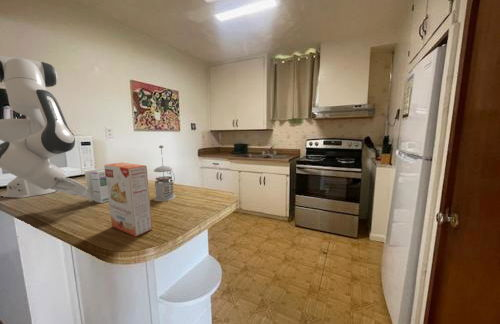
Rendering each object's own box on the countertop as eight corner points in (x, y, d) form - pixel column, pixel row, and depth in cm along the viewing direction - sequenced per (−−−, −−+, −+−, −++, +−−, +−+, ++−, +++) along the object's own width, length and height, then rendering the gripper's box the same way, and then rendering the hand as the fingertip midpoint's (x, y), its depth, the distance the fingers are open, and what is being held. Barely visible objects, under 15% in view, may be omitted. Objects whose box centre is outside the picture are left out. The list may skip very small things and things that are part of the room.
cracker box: (110, 227, 67) (103, 164, 64) (129, 220, 72) (123, 161, 69) (134, 238, 60) (127, 167, 57) (153, 229, 65) (147, 164, 62)
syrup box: (101, 203, 91) (97, 171, 89) (94, 201, 94) (90, 170, 92) (114, 199, 96) (111, 169, 94) (107, 198, 99) (104, 168, 97)
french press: (149, 200, 94) (144, 146, 91) (166, 193, 105) (162, 144, 102) (166, 202, 92) (162, 146, 88) (182, 194, 102) (179, 144, 99)
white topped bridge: (101, 203, 90) (98, 172, 88) (88, 200, 95) (84, 171, 93) (134, 194, 104) (131, 167, 102) (121, 192, 109) (118, 166, 107)
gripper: (70, 172, 74) (102, 191, 84) (43, 168, 83) (75, 186, 93) (56, 187, 71) (91, 205, 81) (30, 182, 80) (64, 199, 90)
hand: (82, 195), depth 87 cm, fingers open, 8 cm apart
